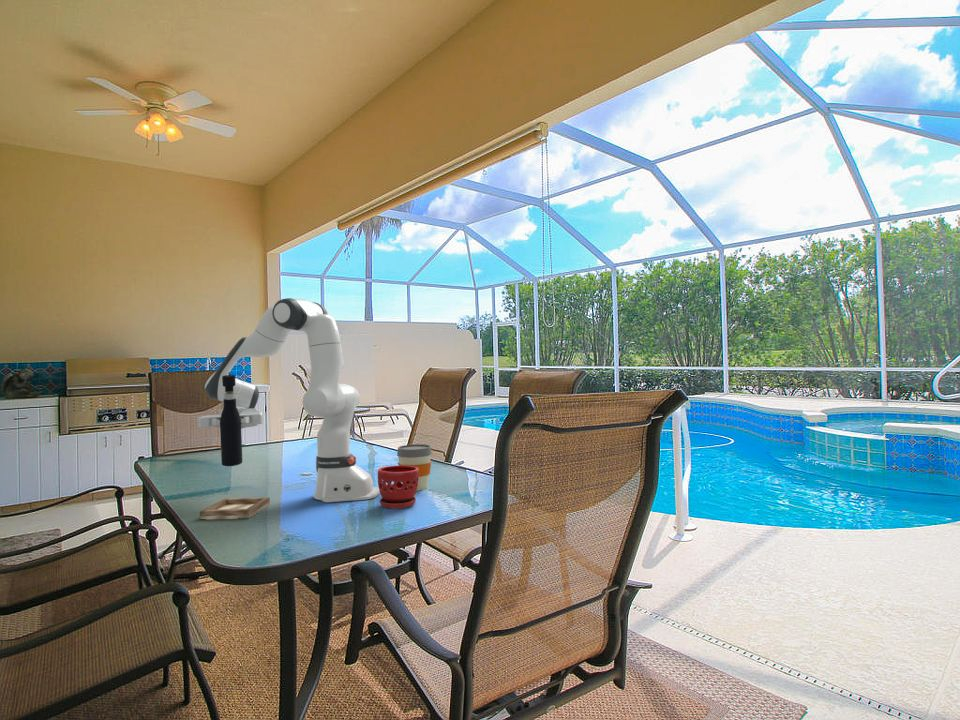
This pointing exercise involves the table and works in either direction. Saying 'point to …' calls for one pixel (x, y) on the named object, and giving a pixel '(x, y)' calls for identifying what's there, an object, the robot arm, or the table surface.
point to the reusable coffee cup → (416, 461)
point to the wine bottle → (230, 426)
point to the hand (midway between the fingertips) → (230, 422)
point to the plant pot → (398, 486)
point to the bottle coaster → (235, 508)
